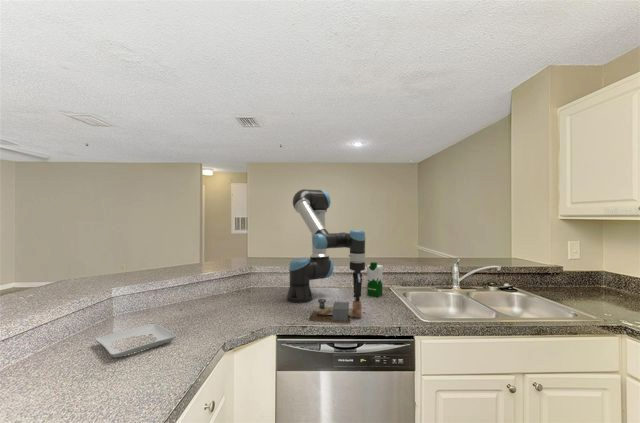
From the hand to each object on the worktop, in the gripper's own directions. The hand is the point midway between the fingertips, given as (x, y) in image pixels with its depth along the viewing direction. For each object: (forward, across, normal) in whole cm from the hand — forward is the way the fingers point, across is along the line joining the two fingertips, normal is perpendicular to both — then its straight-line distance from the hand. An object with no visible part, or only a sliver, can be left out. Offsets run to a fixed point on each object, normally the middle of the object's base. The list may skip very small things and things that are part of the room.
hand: (357, 309), depth 142 cm
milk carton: (+3, -35, +17) cm, 39 cm away
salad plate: (+3, +30, -89) cm, 94 cm away
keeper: (+2, +4, -13) cm, 14 cm away
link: (+1, +2, -9) cm, 10 cm away
